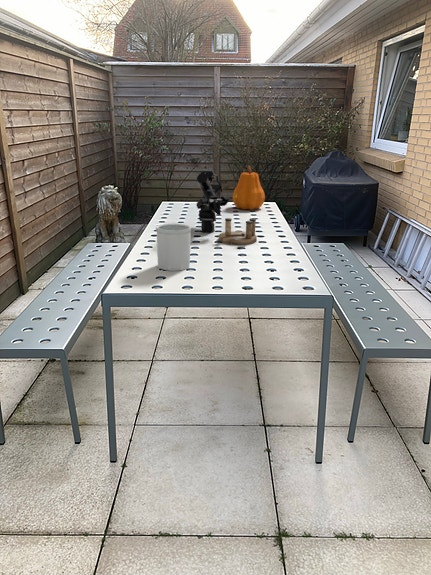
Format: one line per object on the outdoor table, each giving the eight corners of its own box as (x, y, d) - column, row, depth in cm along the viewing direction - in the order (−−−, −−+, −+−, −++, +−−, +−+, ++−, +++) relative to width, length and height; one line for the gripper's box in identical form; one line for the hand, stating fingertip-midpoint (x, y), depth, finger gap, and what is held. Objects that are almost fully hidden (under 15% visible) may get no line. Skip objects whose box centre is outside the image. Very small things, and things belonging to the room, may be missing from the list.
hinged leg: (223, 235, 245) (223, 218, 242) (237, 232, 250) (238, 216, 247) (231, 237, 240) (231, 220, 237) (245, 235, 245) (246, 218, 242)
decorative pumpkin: (228, 205, 345) (229, 164, 335) (259, 205, 350) (261, 164, 339) (235, 211, 324) (236, 167, 314) (268, 210, 328) (270, 167, 318)
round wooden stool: (211, 238, 249) (211, 217, 245) (240, 234, 260) (241, 214, 256) (234, 246, 233) (234, 224, 230) (264, 241, 244) (265, 220, 241)
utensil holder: (173, 259, 211) (173, 221, 205) (198, 265, 202) (198, 226, 196) (149, 266, 200) (148, 226, 194) (174, 273, 191) (173, 232, 185)
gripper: (215, 199, 262) (227, 221, 258) (187, 201, 252) (198, 225, 247) (224, 186, 254) (236, 209, 249) (195, 189, 243) (207, 213, 239)
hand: (219, 214), depth 246 cm, fingers closed
